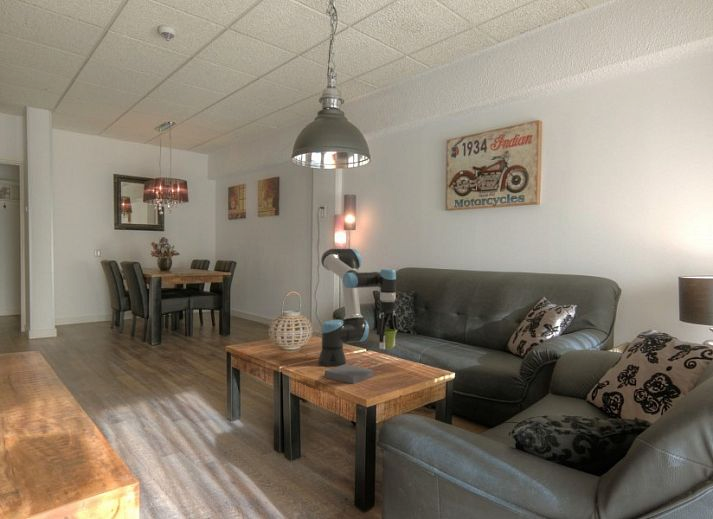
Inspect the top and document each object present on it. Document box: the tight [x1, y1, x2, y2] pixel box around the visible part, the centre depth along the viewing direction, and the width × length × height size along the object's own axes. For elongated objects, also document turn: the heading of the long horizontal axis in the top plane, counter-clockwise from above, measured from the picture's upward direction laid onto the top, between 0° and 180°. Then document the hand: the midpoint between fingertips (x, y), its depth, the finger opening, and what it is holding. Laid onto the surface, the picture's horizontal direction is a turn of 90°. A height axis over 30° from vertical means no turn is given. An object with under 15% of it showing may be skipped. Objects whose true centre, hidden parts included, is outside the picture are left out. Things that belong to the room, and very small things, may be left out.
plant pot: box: [384, 327, 398, 350], centre depth 207 cm, size 9×9×9 cm
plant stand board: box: [324, 363, 374, 384], centre depth 210 cm, size 18×16×3 cm
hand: (387, 347), depth 207 cm, fingers closed on plant pot, 8 cm apart
